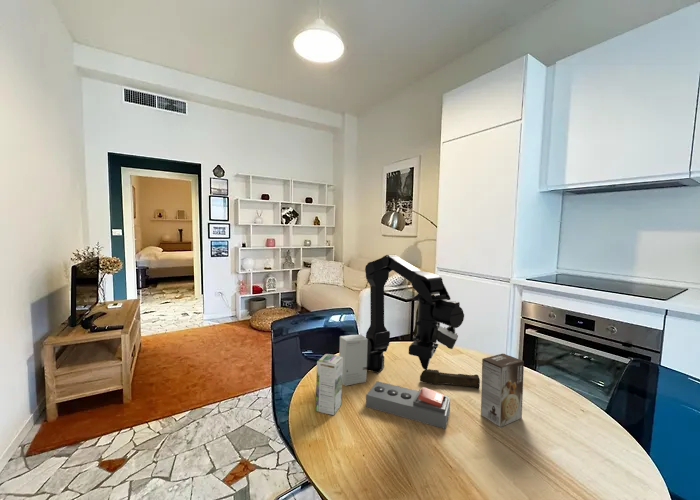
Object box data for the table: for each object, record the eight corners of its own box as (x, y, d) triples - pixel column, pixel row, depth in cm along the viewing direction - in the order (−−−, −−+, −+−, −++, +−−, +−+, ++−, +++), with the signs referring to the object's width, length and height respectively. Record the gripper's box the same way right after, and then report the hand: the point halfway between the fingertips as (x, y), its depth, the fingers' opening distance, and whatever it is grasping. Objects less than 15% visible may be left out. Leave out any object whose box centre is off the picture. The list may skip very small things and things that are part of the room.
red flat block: (418, 399, 81) (418, 394, 81) (422, 390, 85) (422, 386, 85) (440, 407, 78) (441, 403, 78) (443, 398, 83) (444, 394, 83)
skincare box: (344, 386, 97) (345, 341, 96) (337, 378, 102) (338, 335, 102) (367, 382, 100) (368, 338, 99) (360, 374, 106) (360, 332, 105)
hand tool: (477, 384, 100) (477, 370, 100) (480, 390, 96) (480, 376, 96) (419, 378, 104) (419, 365, 103) (420, 384, 100) (420, 370, 99)
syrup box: (323, 401, 88) (324, 352, 87) (342, 405, 86) (343, 355, 85) (315, 411, 83) (315, 360, 82) (334, 416, 81) (335, 363, 80)
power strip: (365, 406, 86) (366, 391, 85) (376, 391, 94) (377, 377, 93) (445, 428, 76) (446, 411, 76) (449, 410, 84) (450, 395, 84)
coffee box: (501, 406, 87) (503, 352, 86) (522, 418, 81) (525, 360, 80) (479, 414, 83) (481, 358, 82) (500, 428, 77) (503, 367, 76)
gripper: (452, 332, 76) (449, 391, 77) (460, 314, 92) (457, 362, 94) (409, 324, 81) (406, 380, 82) (424, 308, 97) (421, 355, 98)
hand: (425, 368), depth 89 cm, fingers closed
